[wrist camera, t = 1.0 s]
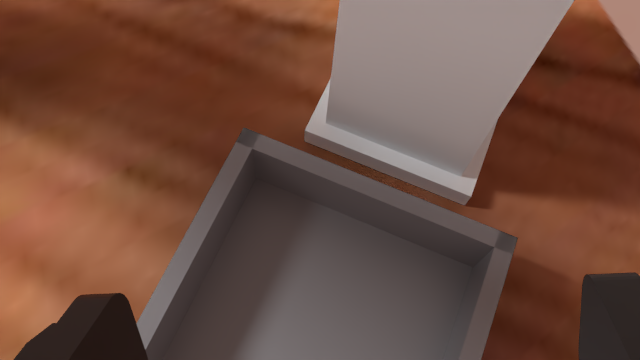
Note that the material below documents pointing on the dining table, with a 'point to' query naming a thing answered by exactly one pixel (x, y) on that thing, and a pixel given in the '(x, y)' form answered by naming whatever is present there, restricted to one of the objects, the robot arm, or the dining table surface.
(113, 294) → the robot arm
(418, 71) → the stand
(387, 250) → the bin
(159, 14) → the dining table surface
